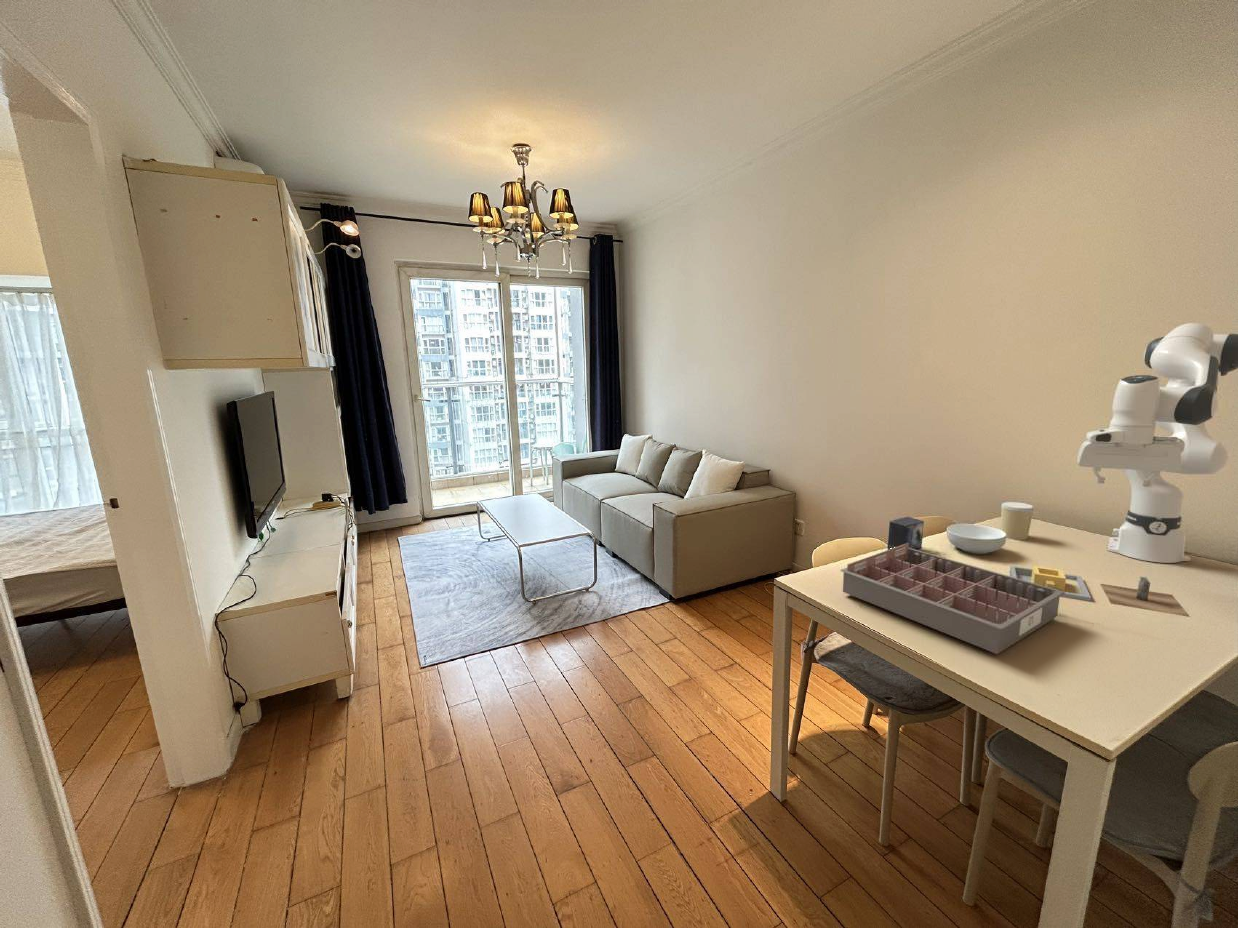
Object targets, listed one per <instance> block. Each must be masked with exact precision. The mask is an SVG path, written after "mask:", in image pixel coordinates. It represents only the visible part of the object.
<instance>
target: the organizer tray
mask: <svg viewBox="0 0 1238 928" xmlns="http://www.w3.org/2000/svg"><path fill="white" fill-rule="evenodd" d="M839 571H840V572H843V581H842V593H845V594H848V595H850V596H852V597H855V598H857V599H859V600H862V601H865V602H868V603H869V604H873V605H875V606H876V607H878V608H879V607H880V608H882V609H885V610H887V611H889V612H892V613H894V614H896V615H898V616H902V617H904V618H907V619H909V620H912V621H914V622H917V623H919V624H921V625H924V626H927V627H929V628H931V629H935V630H937V631H939V632H942V633H944V634H946V635H949V636H951V637H954V638H956V639H959V640H960V641H964V642H966V643H969V644H971V645H974V646H976V647H978V648H981V649H984V650H986V651H988V652H991V653H993V654H995V655H998V654H1000V653H1001V652H1003V651H1005V650H1006V649H1008V648H1009V647H1011V646H1012V645H1014V644H1016V643H1017V642H1019V641H1021V640H1022V639H1023V638H1025V637H1027V636H1028V635H1030V634H1032V633H1033V632H1035V631H1036V630H1037V629H1039V628H1041V627H1043V626H1044V625H1045V624H1047V623H1049V622H1050V621H1052V620H1053V619H1055V618H1057V617H1058V612H1059V606H1060V605H1059V604H1060V600H1061V599H1060V598H1061V597H1062V595H1063V594H1065V592H1066V591H1063V590H1057V589H1053V588H1049V587H1046V586H1042V585H1039V584H1035V583H1032V582H1028V581H1024V580H1021V579H1017V578H1014V577H1010V575H1006V574H1004V573H999V572H997V571H991V570H989V569H985V568H981V567H979V566H975V565H971V564H967V563H964V562H961V561H957V560H953V559H950V558H946V557H943V556H939V555H937V554H932V553H929V552H925V551H922V550H919V549H918V550H915V549H911V548H909V543H907V544H904V545H901V546H898V547H895V548H892V549H887V550H884V551H881V552H879V553H875V554H873V555H870V556H867V557H864V558H862V559H858V560H855V561H854V562H849V563H847V566H846V567H845V568H842V569H840V570H839Z"/></svg>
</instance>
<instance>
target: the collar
mask: <svg viewBox="0 0 1238 928" xmlns="http://www.w3.org/2000/svg"><path fill="white" fill-rule="evenodd" d="M1031 569H1032V576H1031V582H1032V583H1035V584H1039V585H1042V586H1046V587H1049V588H1053V589H1056V590H1060V591H1063V592H1065V589H1066V582H1067V581H1066V580H1067V579H1066V577H1065V575H1064V574H1065V572H1064V571H1063V570H1062V569H1057V568H1056V569H1055V568H1049V567H1044V566H1043V567H1042V566H1035V565H1032V568H1031Z"/></svg>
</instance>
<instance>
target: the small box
mask: <svg viewBox="0 0 1238 928" xmlns="http://www.w3.org/2000/svg"><path fill="white" fill-rule="evenodd" d="M924 524H925V521H924V520H921V519H918V518H914V517H911V516H905V517H900V518H897V519H893V520H890V521H889V525H888V526H889V527H888V540H887V548H886V549H887V550H889V549H890V548H894V547H898V546H901V545H904V544H907V543H909V548H911V549H915V550H918V551H919V550H921V549H922V546H923V534H924Z"/></svg>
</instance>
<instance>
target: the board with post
mask: <svg viewBox="0 0 1238 928" xmlns="http://www.w3.org/2000/svg"><path fill="white" fill-rule="evenodd" d="M1139 579H1140V580H1139V581H1138V585H1137V588H1131V587H1125V586H1117V585H1109V584H1106V583H1105V584H1104V583H1100V584H1099V585H1100V586H1101V589H1102V590H1103V592H1104V594H1105V596H1106V597H1107V599H1108V601H1109V602H1110V604H1111V605H1112V604H1113V605H1118V606H1122V607H1123V606H1124V607H1129V608H1135V609H1141V610H1148V611H1154V612H1158V613H1159V612H1160V613H1164V614H1169V615H1177V616H1183V617H1188V618H1190V617H1191V616H1190V614H1189V613H1188V612H1187V611H1186V610H1185V608H1184V607H1183V606H1182V605H1181V603H1179V601H1178V600H1177V599H1176V597H1175V596H1174V595H1173V594H1169V593H1162V592H1156V591H1150V588H1151V587H1150V586H1151V582H1150V580H1149V579H1148V578H1147V577H1146V576H1140V577H1139Z"/></svg>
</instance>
